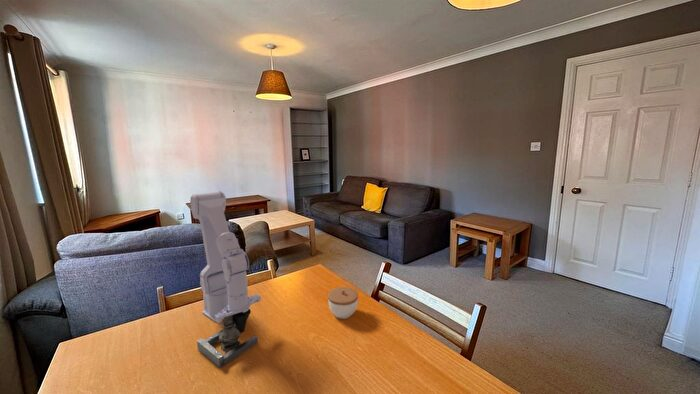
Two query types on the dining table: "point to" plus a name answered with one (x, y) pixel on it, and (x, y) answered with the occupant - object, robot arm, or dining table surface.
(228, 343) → the weathered grey candle holder
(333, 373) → the dining table surface
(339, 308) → the lidded jar
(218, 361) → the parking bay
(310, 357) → the dining table surface
